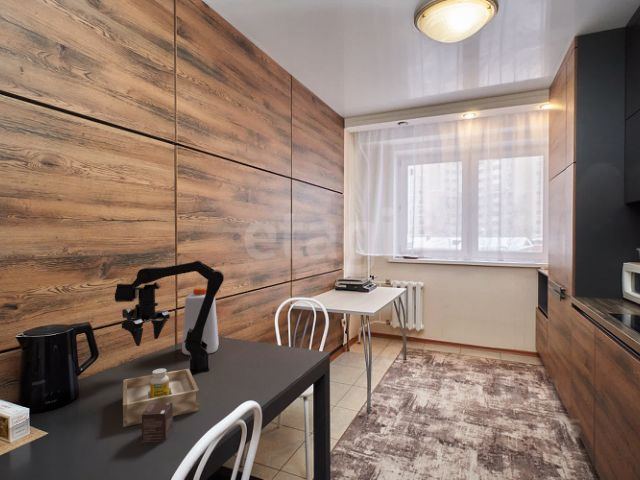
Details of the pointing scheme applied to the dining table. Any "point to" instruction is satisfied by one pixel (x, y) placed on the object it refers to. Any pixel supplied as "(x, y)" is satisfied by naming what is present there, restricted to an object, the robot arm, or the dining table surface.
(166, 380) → the supplement bottle
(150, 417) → the box
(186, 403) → the open box
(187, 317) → the plastic bottle
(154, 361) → the dining table surface
